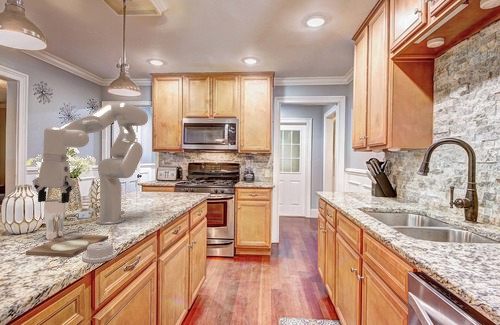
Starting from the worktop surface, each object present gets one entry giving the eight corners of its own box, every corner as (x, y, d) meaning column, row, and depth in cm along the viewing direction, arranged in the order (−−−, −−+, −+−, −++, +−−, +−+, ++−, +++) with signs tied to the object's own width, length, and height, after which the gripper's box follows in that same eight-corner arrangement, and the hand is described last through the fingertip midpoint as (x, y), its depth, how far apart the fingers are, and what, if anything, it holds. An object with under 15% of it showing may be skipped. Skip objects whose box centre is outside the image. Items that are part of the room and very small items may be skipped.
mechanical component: (74, 262, 85) (101, 265, 83) (74, 248, 85) (102, 251, 83) (98, 251, 94) (123, 254, 92) (98, 238, 94) (123, 241, 92)
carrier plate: (70, 236, 109) (70, 231, 109) (108, 238, 108) (108, 232, 108) (25, 254, 89) (25, 247, 89) (71, 257, 88) (71, 249, 88)
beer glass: (52, 235, 111) (53, 198, 111) (69, 235, 111) (69, 199, 110) (39, 240, 104) (39, 201, 104) (56, 240, 104) (57, 202, 103)
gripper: (82, 159, 110) (80, 201, 110) (42, 158, 111) (40, 200, 111) (68, 159, 102) (67, 204, 102) (25, 158, 103) (24, 202, 103)
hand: (53, 202), depth 106 cm, fingers open, 9 cm apart
